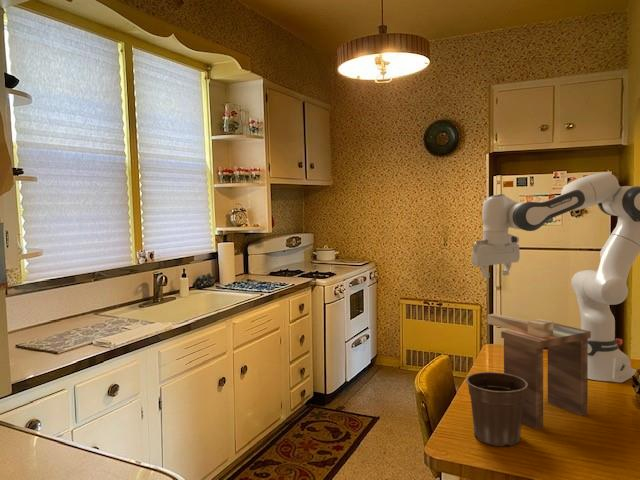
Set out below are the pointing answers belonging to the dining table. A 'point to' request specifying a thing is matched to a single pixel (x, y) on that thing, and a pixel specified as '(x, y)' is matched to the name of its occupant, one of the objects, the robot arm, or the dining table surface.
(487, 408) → the plant pot
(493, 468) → the dining table surface
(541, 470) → the dining table surface
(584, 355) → the shelf
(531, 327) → the marker stick
